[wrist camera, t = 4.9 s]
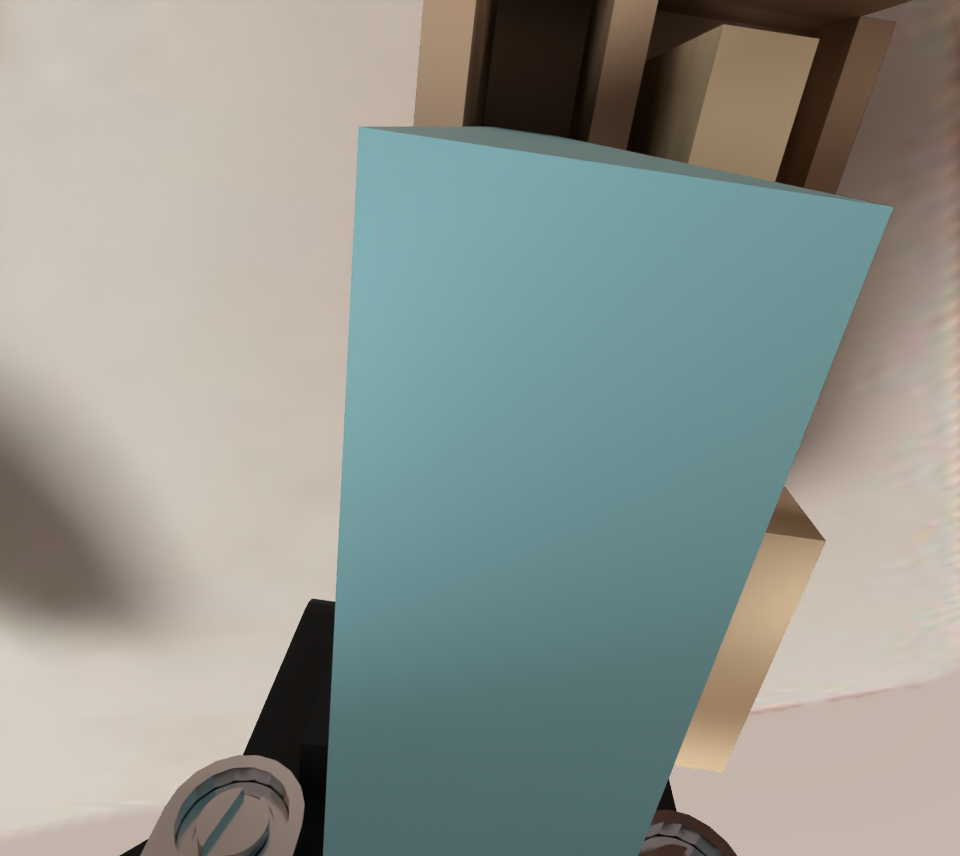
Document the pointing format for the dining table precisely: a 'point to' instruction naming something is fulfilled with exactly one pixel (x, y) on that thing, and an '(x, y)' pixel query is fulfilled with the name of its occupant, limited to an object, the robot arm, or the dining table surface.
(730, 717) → the tall offcut
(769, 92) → the wide offcut
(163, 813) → the robot arm
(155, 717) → the dining table surface
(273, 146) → the dining table surface
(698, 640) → the teal board
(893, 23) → the walnut rack
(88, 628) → the dining table surface
